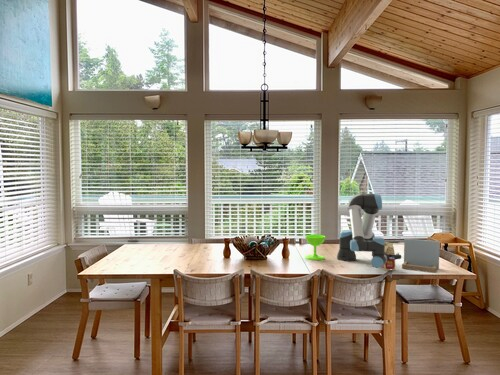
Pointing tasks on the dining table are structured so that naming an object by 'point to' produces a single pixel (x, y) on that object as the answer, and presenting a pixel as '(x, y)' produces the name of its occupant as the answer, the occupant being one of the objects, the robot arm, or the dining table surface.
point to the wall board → (421, 255)
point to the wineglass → (315, 241)
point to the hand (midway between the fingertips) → (388, 253)
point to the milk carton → (390, 263)
